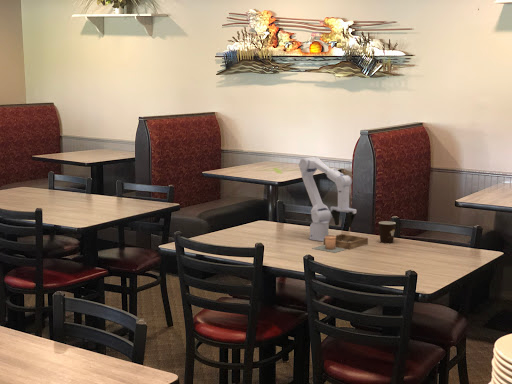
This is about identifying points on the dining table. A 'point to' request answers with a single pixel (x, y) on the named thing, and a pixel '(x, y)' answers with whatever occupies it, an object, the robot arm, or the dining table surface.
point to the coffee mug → (387, 231)
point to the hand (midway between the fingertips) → (343, 226)
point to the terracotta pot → (330, 242)
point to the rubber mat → (328, 249)
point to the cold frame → (354, 240)
